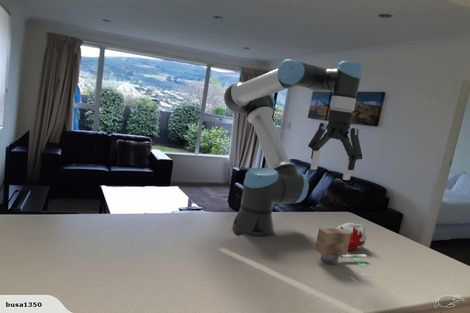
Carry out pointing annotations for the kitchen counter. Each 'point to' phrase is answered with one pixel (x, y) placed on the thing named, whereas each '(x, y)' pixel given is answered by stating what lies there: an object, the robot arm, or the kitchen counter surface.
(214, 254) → the kitchen counter surface
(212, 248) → the kitchen counter surface
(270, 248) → the kitchen counter surface
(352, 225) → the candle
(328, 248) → the knob
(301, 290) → the kitchen counter surface
